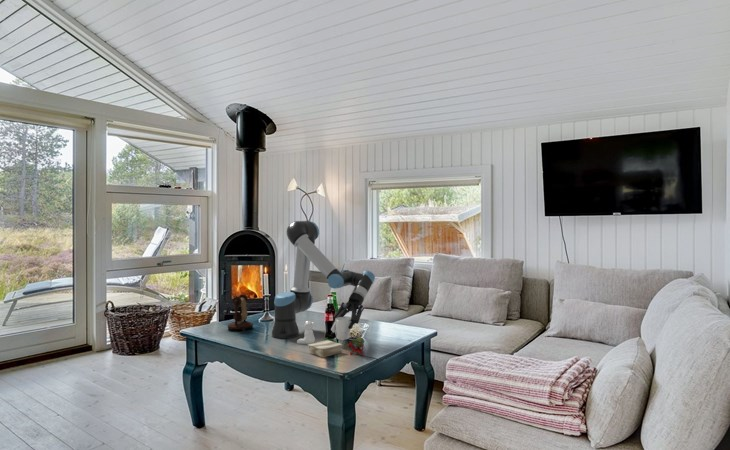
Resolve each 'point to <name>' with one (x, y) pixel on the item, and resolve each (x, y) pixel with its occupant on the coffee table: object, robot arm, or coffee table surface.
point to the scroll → (240, 314)
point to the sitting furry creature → (307, 334)
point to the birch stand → (324, 348)
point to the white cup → (342, 327)
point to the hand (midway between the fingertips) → (338, 332)
